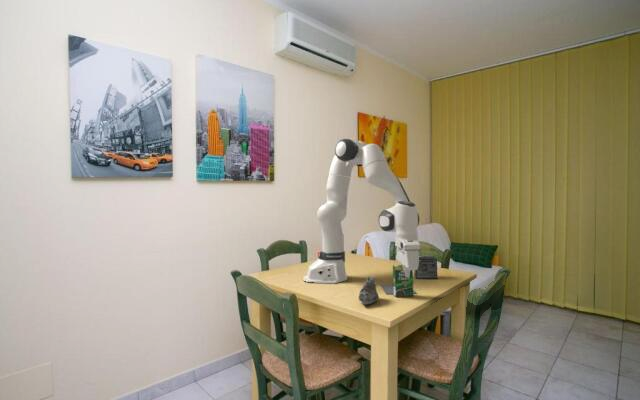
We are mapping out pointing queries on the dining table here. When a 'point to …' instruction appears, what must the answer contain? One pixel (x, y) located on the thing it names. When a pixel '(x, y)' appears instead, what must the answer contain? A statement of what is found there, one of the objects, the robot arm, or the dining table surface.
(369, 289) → the mineral rock
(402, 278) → the coffee box
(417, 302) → the dining table surface
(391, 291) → the mat
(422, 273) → the small box
